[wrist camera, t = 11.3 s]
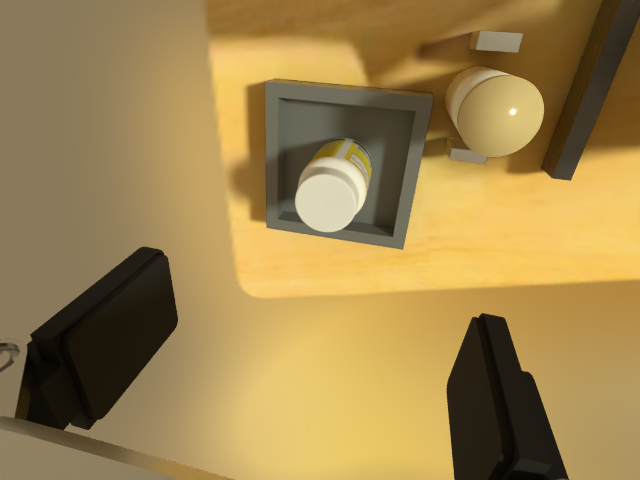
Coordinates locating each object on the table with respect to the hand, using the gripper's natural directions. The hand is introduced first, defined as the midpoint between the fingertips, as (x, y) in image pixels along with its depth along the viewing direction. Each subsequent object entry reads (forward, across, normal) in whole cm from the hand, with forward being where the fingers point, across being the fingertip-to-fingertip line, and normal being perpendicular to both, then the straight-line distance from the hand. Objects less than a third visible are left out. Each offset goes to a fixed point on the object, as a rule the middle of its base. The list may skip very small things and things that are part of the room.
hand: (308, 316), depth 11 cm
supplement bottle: (+21, +2, +2) cm, 21 cm away
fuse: (+22, -7, -4) cm, 23 cm away
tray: (+21, +2, +2) cm, 22 cm away
